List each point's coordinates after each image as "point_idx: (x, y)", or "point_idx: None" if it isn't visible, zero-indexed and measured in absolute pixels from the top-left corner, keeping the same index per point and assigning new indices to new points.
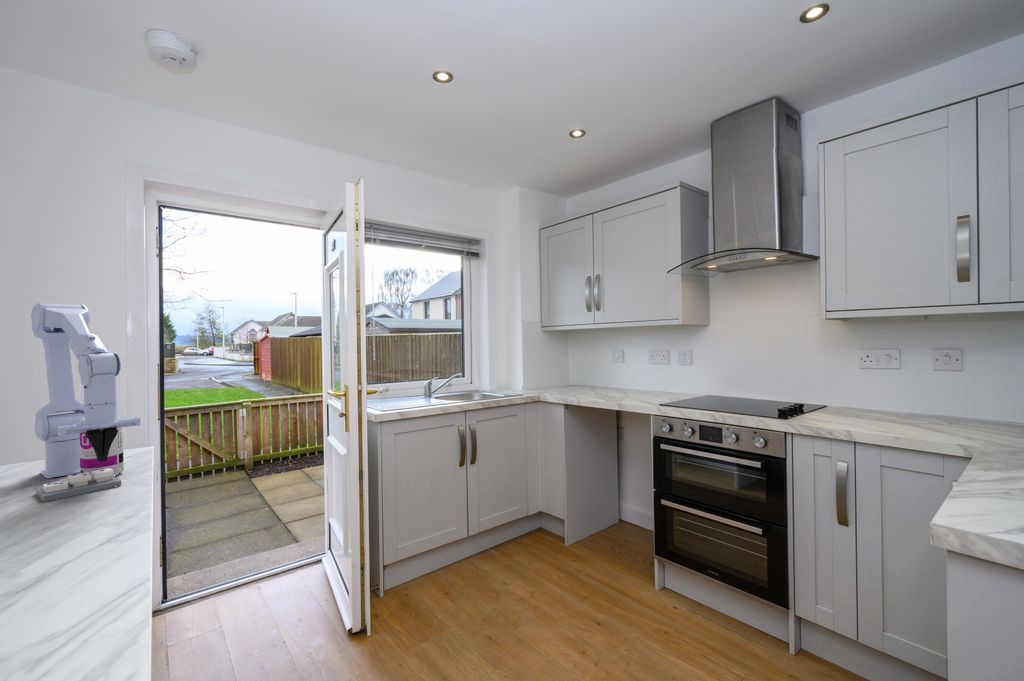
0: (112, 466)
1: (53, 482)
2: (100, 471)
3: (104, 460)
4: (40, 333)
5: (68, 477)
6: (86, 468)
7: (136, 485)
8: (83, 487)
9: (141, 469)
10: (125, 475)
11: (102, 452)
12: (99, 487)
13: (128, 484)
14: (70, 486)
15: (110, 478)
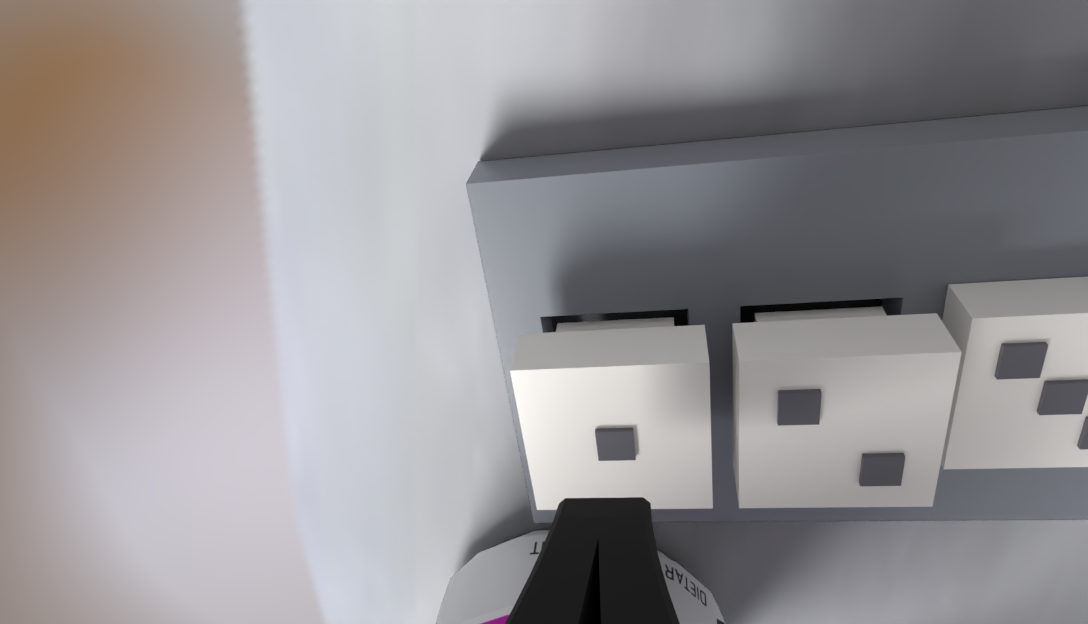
0: (508, 605)
1: (1044, 467)
2: (634, 424)
3: (587, 504)
4: None
5: (938, 449)
6: None
7: (339, 38)
8: (826, 197)
9: (331, 586)
10: (436, 509)
11: (605, 602)
12: (676, 157)
13: (415, 163)
14: None
15: None
